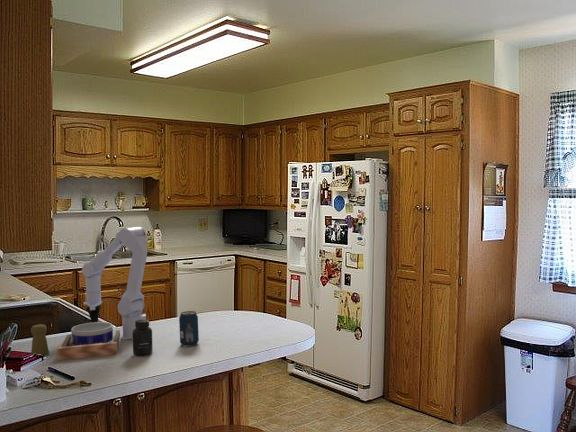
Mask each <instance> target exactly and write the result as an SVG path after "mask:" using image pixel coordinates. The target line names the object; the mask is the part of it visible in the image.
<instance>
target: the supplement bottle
mask: <svg viewBox="0 0 576 432" xmlns="http://www.w3.org/2000/svg"><path fill="white" fill-rule="evenodd" d="M135 327H136V328H135V329H134V330H133V339H132V354H133V356H134V357H148V356H151V355H152V354H153V351H154V350H153V348H154V347H153V346H154V345H153V329H152V327H150V320H149V319H146V320H137V321H135Z"/></svg>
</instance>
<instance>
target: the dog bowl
mask: <svg viewBox="0 0 576 432" xmlns="http://www.w3.org/2000/svg"><path fill="white" fill-rule="evenodd" d="M113 326H114V325H113V324H112V323H111V322H107V321H98V322H91V321H90V322H85V323H81V324H78V325H74V326H72V327H71V329H70V332H71V343H72V346H77V345H88V344H99V343H108V342H110V341H111V342H113V341H114V331H113V330H114V329H113V328H114V327H113Z"/></svg>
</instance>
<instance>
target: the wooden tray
mask: <svg viewBox="0 0 576 432" xmlns="http://www.w3.org/2000/svg"><path fill="white" fill-rule="evenodd" d="M120 336H121V331H120V329H118V330H115V334H114V337H113V341H111V342H109V343H99V344H88V345H77V346H75V345H70V344H71V342H72V334H66V336H65V338H64V340H63V343H61V345H60V346H58V347H57V348H56V361H60V360H61V361H62V360H74V359H81V358H93V357H103V356H104V357H105V356H113V355H118V351H119V343H120ZM69 343H70V344H69Z"/></svg>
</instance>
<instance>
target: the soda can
mask: <svg viewBox="0 0 576 432" xmlns="http://www.w3.org/2000/svg"><path fill="white" fill-rule="evenodd" d="M178 322H179V324H178V325H179V343H180V344H181V345H182V346H183V347H194V346H196V345H197V344H199V343H198V342H199V340H200V338H199V316H198V314H197V312H196V311H194V310H190V311H189V310H187V311H182V312H180V316H179V321H178Z"/></svg>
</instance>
